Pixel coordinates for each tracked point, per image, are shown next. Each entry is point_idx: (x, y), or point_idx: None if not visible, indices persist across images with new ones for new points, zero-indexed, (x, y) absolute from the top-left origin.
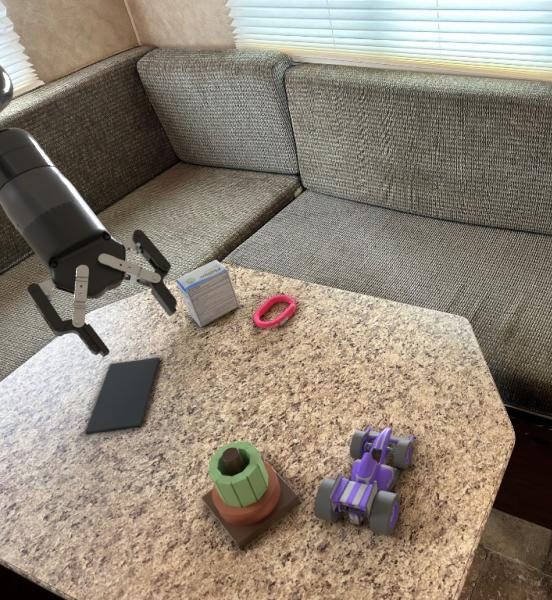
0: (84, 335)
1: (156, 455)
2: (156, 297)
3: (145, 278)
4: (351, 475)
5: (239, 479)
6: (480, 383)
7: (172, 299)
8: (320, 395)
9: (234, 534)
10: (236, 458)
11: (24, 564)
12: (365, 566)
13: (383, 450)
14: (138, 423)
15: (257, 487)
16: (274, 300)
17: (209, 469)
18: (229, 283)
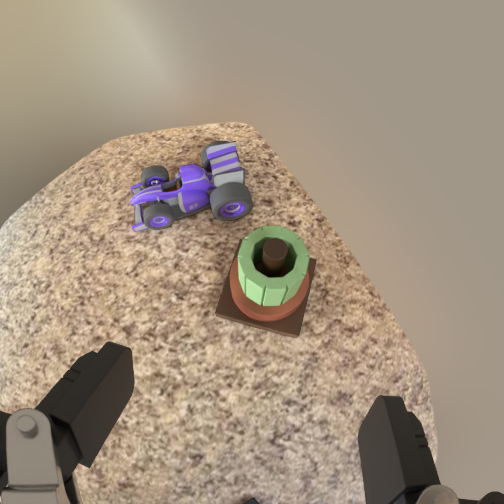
0: (426, 467)
1: (276, 446)
2: (99, 433)
3: (48, 460)
4: (197, 199)
5: (289, 232)
6: (61, 178)
7: (83, 365)
8: (105, 310)
9: (310, 269)
10: (275, 238)
11: (435, 439)
12: (263, 168)
13: (161, 184)
14: (253, 501)
15: None
16: None
17: (300, 276)
18: None
